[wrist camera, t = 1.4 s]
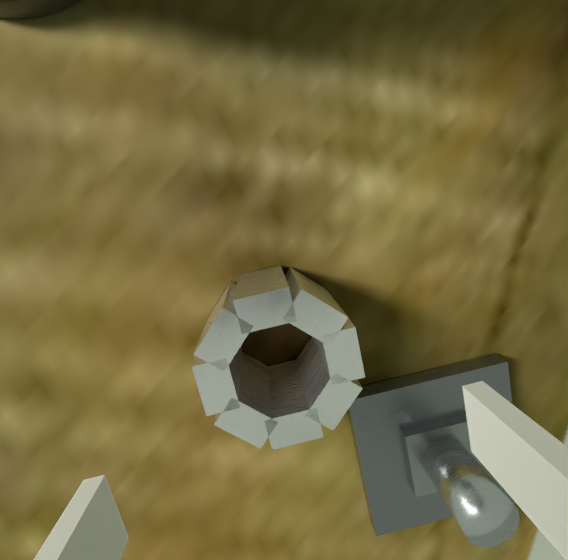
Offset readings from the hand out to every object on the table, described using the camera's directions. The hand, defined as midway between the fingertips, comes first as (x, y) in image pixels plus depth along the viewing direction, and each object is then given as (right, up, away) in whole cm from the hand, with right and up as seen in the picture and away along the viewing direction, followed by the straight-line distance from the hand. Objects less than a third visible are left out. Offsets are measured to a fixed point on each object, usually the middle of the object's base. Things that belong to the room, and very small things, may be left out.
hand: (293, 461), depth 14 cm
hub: (-1, +3, +14) cm, 14 cm away
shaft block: (+11, -6, +17) cm, 21 cm away
